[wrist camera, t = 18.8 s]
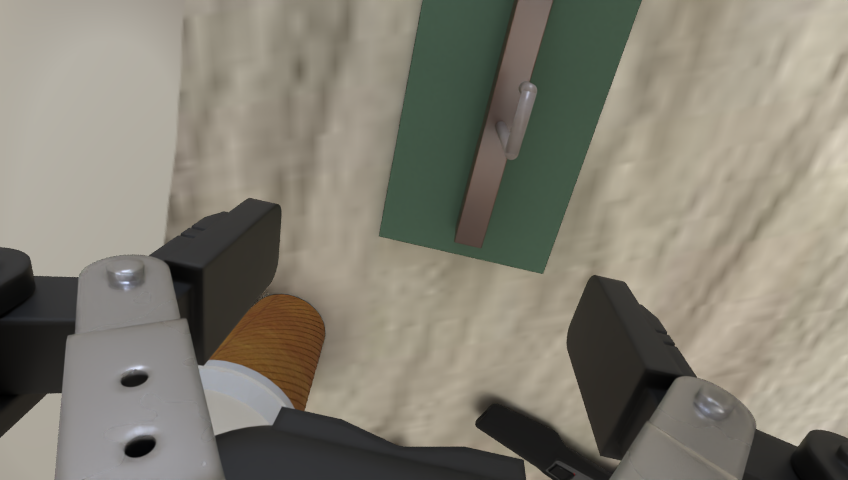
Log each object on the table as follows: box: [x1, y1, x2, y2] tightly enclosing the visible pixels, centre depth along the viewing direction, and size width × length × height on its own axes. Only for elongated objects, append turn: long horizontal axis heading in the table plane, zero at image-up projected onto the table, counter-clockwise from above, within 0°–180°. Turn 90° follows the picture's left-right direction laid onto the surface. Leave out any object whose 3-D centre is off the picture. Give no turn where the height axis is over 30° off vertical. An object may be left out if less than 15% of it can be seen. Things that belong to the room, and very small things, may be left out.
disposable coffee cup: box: [198, 294, 325, 435], centre depth 31 cm, size 10×10×12 cm
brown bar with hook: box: [454, 0, 554, 248], centre depth 23 cm, size 18×2×10 cm, turn 168°
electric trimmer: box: [475, 404, 612, 480], centre depth 38 cm, size 4×16×3 cm, turn 55°
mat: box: [379, 0, 642, 274], centre depth 28 cm, size 22×12×1 cm, turn 168°
